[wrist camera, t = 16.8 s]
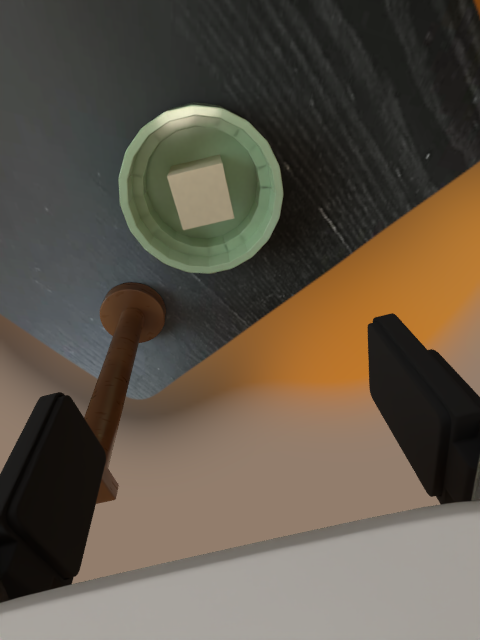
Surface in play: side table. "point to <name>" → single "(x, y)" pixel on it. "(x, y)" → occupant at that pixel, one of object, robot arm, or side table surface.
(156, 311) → the stand
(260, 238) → the green round bowl
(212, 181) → the block
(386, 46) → the side table surface
